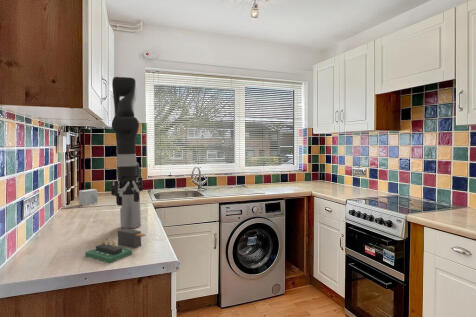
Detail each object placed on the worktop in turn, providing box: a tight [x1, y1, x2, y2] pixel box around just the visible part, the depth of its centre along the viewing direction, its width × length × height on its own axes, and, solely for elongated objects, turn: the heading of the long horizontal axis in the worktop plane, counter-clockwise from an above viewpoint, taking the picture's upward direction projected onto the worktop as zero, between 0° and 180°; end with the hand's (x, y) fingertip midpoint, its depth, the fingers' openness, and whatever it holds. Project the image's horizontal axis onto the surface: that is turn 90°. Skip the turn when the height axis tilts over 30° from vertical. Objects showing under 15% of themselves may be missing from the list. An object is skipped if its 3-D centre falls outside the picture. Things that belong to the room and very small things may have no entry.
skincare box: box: [78, 188, 99, 206], centre depth 209 cm, size 10×6×10 cm, turn 141°
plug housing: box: [117, 228, 146, 249], centre depth 123 cm, size 13×4×6 cm, turn 61°
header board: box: [84, 237, 133, 264], centre depth 112 cm, size 14×10×6 cm
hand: (128, 203), depth 123 cm, fingers open, 8 cm apart
